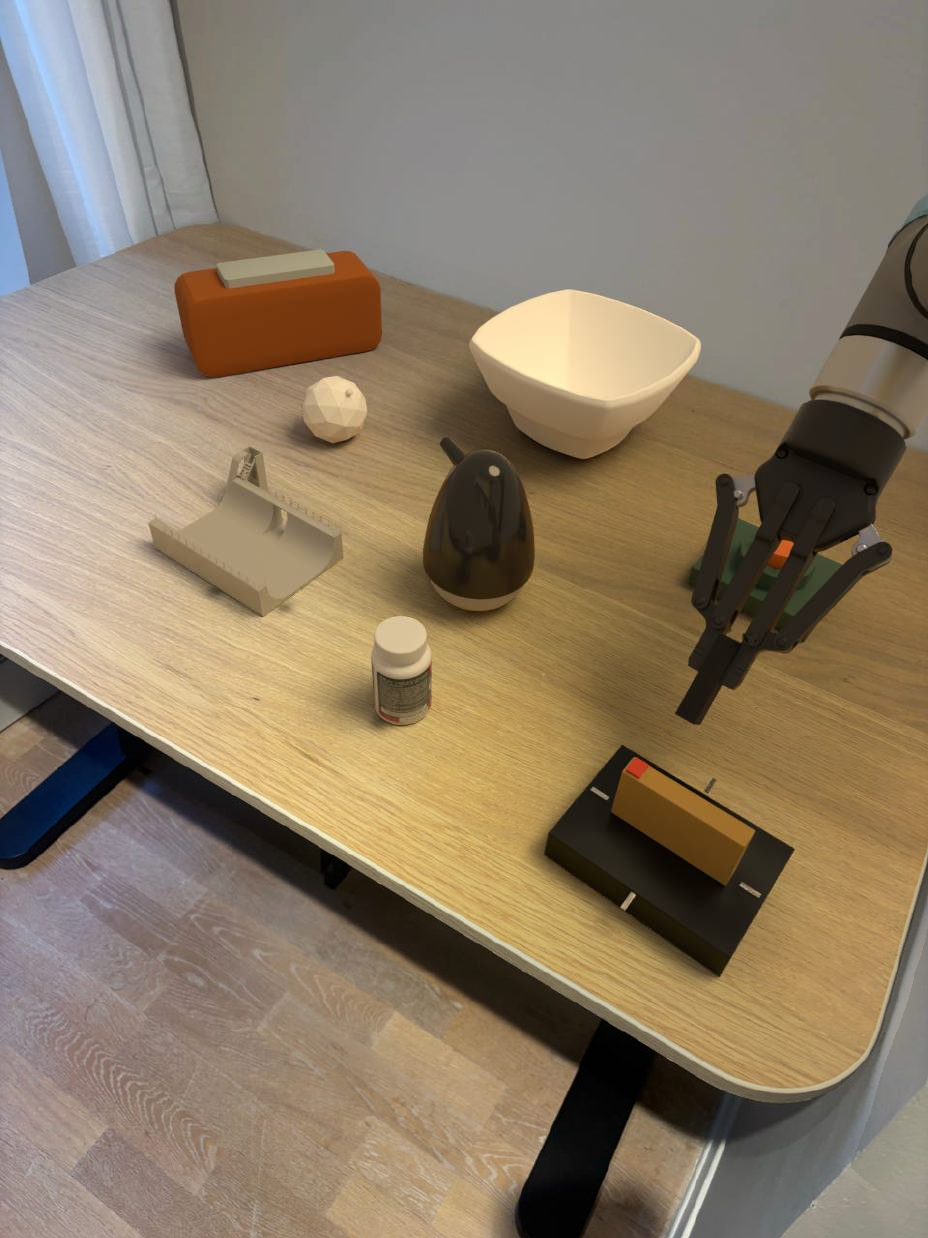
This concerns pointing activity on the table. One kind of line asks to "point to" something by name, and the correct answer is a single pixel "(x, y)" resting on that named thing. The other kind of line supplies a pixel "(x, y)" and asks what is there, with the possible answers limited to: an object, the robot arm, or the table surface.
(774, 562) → the button
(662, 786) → the rectangular block
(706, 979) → the table surface
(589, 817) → the knob panel
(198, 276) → the alarm clock
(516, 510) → the pump dispenser
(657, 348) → the bowl
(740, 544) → the button block
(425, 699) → the pill bottle
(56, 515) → the table surface
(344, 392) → the ornament
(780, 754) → the table surface
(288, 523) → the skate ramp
